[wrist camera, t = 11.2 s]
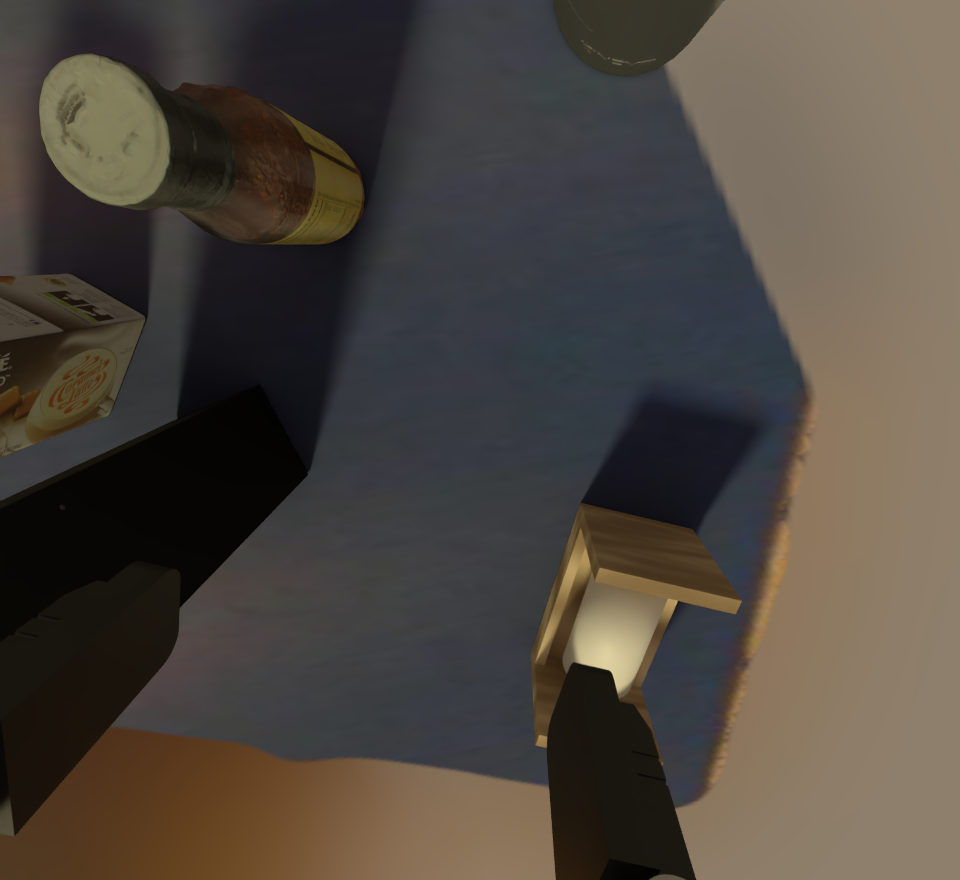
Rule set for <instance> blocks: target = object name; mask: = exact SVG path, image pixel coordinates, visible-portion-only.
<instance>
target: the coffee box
mask: <svg viewBox="0 0 960 880" xmlns="http://www.w3.org/2000/svg"><path fill="white" fill-rule="evenodd" d="M145 320H146V319H145V316H143V315H142V314H140V313H139V312H137V311H135V310H133V309H132V308H130V307H128V306H126V305H125V304H123V303H121V302H119V301H118V300H116V299H114V298H112V297H111V296H109V295H107V294H105V293H104V292H102V291H100V290H98V289H97V288H95V287H93V286H91V285H89V284H88V283H86V282H84V281H82V280H81V279H79V278H77V277H75V276H73V275H71V274H54V275H23V276H0V457H2V456H5V455H7V454H10V453H12V452H15V451H17V450H20V449H22V448H25V447H27V446H31V445H33V444H35V443H38V442H41V441H43V440H46V439H48V438H51V437H54V436H56V435H59V434H61V433H64V432H67V431H69V430H72V429H74V428H77V427H79V426H82V425H84V424H87V423H90V422H92V421H95V420H97V419H100V418H102V417H105V416H107V415H109V414H110V412H111V410H112V407H113V405H114V402H115V400H116V397H117V394H118V392H119V389H120V386H121V384H122V381H123V378H124V376H125V373H126V371H127V368H128V365H129V363H130V360H131V357H132V355H133V352H134V349H135V347H136V344H137V341H138V339H139V336H140V333H141V331H142V328H143V325H144V322H145Z"/></svg>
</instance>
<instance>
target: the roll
mask: <svg viewBox="0 0 960 880" xmlns="http://www.w3.org/2000/svg"><path fill="white" fill-rule="evenodd" d="M667 599H668V598H664V597H660V596H655V595H651V594H647V593H643V592H638V591H634V590H630V589H625V588H621V587H617V586H613V585H608V584H604V583H600V582H596V581H595V580H594V576H593V573H591V576H590V579H589V582H588V585H587V588H586V591H585V594H584V597H583V599H582V602H581V605H580V608H579V611H578V614H577V617H576V620H575V623H574V625H573V628H572V631H571V634H570V637H569V640H568V643H567V646H566V648H565V651H564V654H563V659H562V662H563V667H564V669H565V672H566V673H567V672H568V670H569V667H570V666H571V664H572V663H573V662H575V663H580V664H584V665H588V666H593V667H597V668H602V669H606V670H609V671H611V672H612V674H613V677H614V681H615V685H616V689H617V693H618V697H619V698H622V697H624V696H625V695H627V694H628V692H629V691H630V689H631V687H632V684H633V682H634V679H635V677H636V674H637V672H638V670H639V667H640V665H641V662H642V660H643V658H644V655H645V653H646V650H647V648H648V645H649V643H650V641H651V638H652V636H653V633H654V631H655V629H656V626H657V624H658V621H659V619H660V616H661V614H662V612H663V609H664V607H665V604H666V602H667Z"/></svg>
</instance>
